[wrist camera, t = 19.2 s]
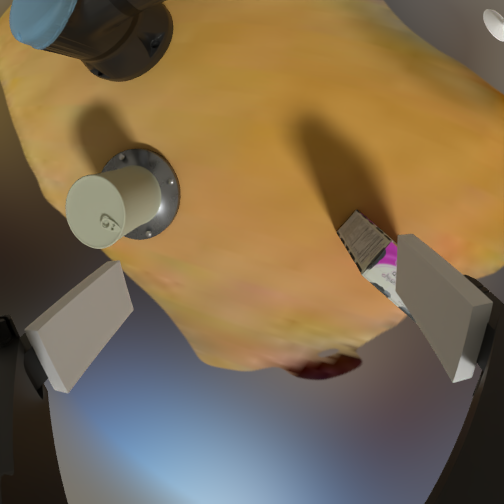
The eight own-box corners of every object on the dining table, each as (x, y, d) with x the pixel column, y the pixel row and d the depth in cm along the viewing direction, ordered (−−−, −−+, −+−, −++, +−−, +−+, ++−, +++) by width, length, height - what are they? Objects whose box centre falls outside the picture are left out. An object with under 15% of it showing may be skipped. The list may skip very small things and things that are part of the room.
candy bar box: (405, 251, 45) (452, 300, 30) (384, 275, 47) (422, 331, 31) (356, 205, 44) (393, 239, 28) (334, 231, 45) (359, 277, 30)
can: (146, 235, 47) (108, 264, 35) (101, 206, 46) (55, 226, 35) (171, 183, 44) (135, 198, 32) (122, 154, 43) (76, 161, 32)
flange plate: (90, 168, 45) (85, 169, 44) (163, 134, 43) (160, 134, 41) (118, 247, 49) (114, 249, 48) (193, 223, 47) (190, 225, 45)
